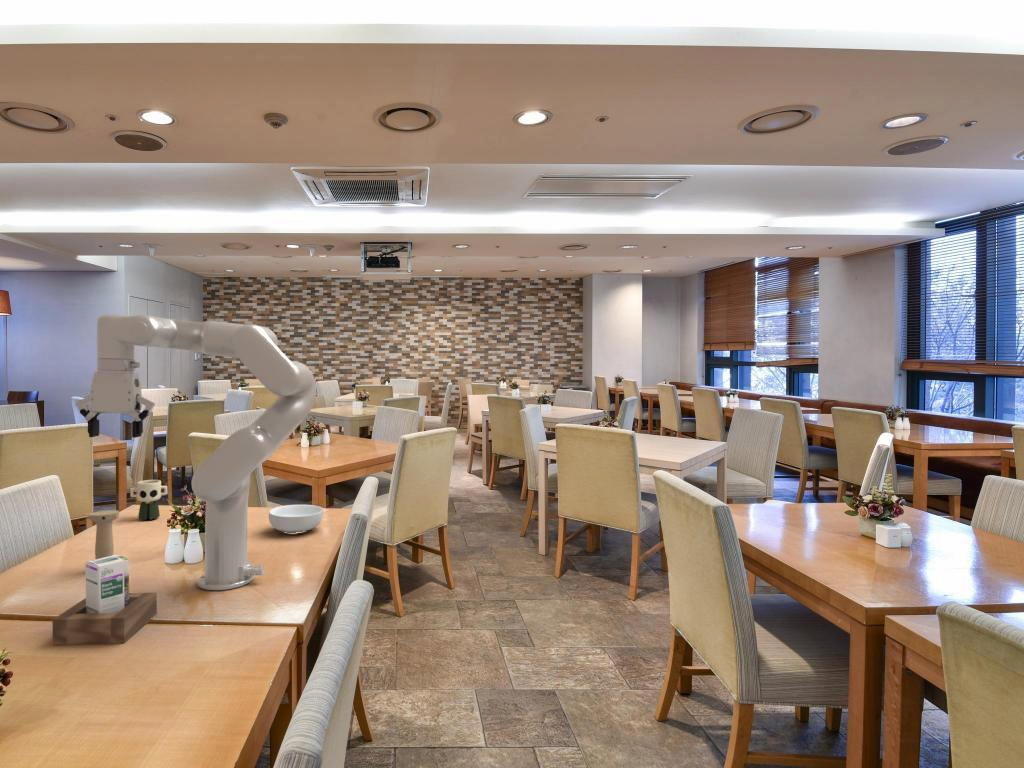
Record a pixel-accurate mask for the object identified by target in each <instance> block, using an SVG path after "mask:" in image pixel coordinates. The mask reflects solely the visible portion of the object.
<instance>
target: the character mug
mask: <svg viewBox="0 0 1024 768" xmlns="http://www.w3.org/2000/svg"><path fill="white" fill-rule="evenodd" d="M162 490H163V492H162ZM129 491H130V498H136V499H137V501H138V502H141V503H140V504H139V509H138V520H140V521H146V520H147V519H149V520H154V519H157V518H159V517H160V516H161V515H160V508H159V503H158V500H160V499H161V497H162V496H166V495H168V485H162V481H161V480H160V479H146V480H140V481H137V482H136V487H131V488H130V490H129ZM134 491H136V494H135V493H134Z"/></svg>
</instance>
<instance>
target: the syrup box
mask: <svg viewBox="0 0 1024 768" xmlns="http://www.w3.org/2000/svg"><path fill="white" fill-rule="evenodd" d="M129 561H130V560H129V558H127V557H125V556H123V555H122V554H121V555H120V554H116V553H115V554H113V555H112V556H109V557H104V558H100V559H92V560H87V561H86V562H84V566H85V568H84V569H85V598H86V614H89V613H118V612H120V611H121V610H122V609H124V608H125V607H126V606H128V605H129V593H130V562H129Z"/></svg>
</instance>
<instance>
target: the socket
mask: <svg viewBox="0 0 1024 768" xmlns="http://www.w3.org/2000/svg"><path fill="white" fill-rule="evenodd" d="M157 595H158V594H157V591H156V592H155V591H153V592H152V591H151V592H129V605H128V606H126V607H125V608H124V609H122V610H121V611H120V612H118V613H89V614H86V597H85V598H84V599H82V600H80V601H79V602H77V603H76V604H74V605H72V606H71V607H70V608H68V609H66V610H65V611H64V612H62V613H60V614H59V615H57V616H56V617H55V618H53V619H52V646H65V645H66V646H68V645H69V646H70V645H71V646H73V645H74V646H75V645H103V644H102V643H104V645H105V644H107V645H109V643H113V644H125V643H127V641H129V640H130V639H131V638H132V637H134V635H136V634H137V633H138V632H139V631H140V630H142V629H143V628H144V627H145V626H146V625H147V624H148V623H150V622H151V621H152V620H151V618H153V617H154V616H155V615H156V614H158V609H157V606H158V604H157V603H158V596H157ZM156 616H157V615H156ZM156 616H155V617H156ZM155 617H154V618H155ZM154 618H153V619H154ZM128 639H129V640H128Z"/></svg>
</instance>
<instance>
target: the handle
mask: <svg viewBox="0 0 1024 768" xmlns="http://www.w3.org/2000/svg"><path fill="white" fill-rule="evenodd" d="M88 515H89V517H88V519H89V521H92V522H95V524H96V529H95V532H96V533H95V544H94V545H95V546H94V555H95V559H94V560H96V559H100V558H104V557H109V556H112V555H114V550H115V549H114V535H113V521H114V520H116V519H118V518H119V517H120V510H100V511H95V512H90V513H89V514H88Z"/></svg>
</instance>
